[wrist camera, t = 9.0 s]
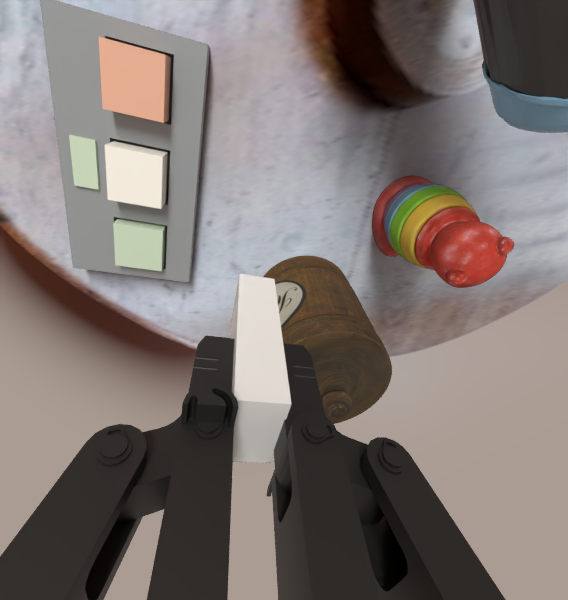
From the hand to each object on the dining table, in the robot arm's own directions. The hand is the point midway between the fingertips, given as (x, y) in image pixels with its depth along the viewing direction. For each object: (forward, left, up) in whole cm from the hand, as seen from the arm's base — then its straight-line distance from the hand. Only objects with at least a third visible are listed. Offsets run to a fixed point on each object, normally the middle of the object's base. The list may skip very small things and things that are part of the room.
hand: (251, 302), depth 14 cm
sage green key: (+11, -11, -29) cm, 33 cm away
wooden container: (+17, +12, -31) cm, 37 cm away
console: (+2, -12, -30) cm, 33 cm away
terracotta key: (-6, -11, -28) cm, 30 cm away
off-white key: (+2, -11, -28) cm, 30 cm away
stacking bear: (+1, +23, -31) cm, 38 cm away
